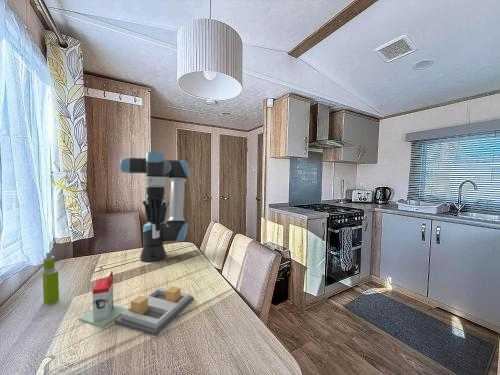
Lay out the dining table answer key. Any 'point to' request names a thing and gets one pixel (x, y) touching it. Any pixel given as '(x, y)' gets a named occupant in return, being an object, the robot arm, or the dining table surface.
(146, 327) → the grey divided tray
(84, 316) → the rest pad
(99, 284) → the ink box
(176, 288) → the tan block
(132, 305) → the light orange block
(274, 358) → the dining table surface
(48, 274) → the vape
